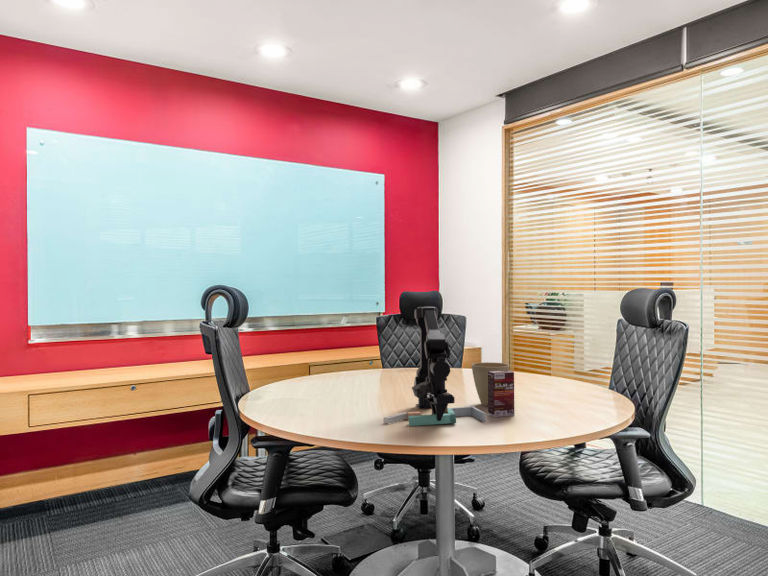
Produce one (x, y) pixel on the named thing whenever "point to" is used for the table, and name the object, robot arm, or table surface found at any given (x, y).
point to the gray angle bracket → (469, 412)
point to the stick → (395, 418)
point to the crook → (432, 419)
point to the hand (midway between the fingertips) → (437, 419)
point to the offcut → (413, 414)
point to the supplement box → (501, 393)
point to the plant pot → (485, 377)
